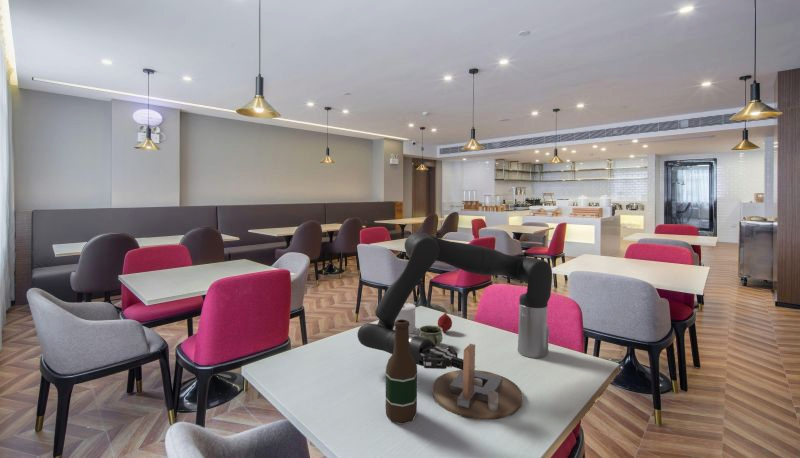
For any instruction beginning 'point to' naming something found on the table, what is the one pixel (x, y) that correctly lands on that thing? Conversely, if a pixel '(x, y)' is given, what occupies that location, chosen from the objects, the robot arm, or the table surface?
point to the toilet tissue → (407, 316)
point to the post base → (495, 408)
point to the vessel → (432, 334)
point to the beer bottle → (401, 378)
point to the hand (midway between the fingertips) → (466, 365)
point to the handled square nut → (465, 381)
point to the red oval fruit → (445, 322)
